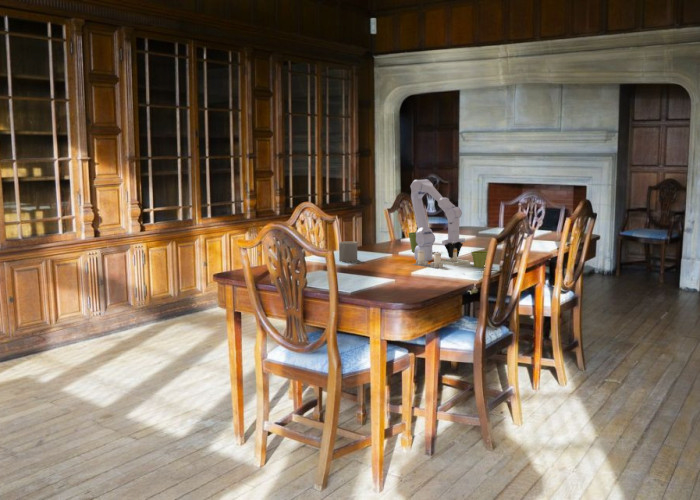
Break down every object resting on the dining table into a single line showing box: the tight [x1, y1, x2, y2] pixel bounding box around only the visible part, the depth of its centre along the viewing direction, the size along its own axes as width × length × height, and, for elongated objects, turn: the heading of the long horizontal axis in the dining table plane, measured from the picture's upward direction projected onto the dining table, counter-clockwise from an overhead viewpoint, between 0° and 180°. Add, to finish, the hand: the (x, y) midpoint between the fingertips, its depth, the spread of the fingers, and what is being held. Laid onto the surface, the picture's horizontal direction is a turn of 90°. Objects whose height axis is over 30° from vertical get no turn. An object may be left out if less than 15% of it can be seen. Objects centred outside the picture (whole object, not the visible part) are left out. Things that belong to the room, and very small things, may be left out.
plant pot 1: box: [407, 231, 425, 253], centre depth 424 cm, size 12×12×11 cm
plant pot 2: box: [470, 250, 488, 268], centre depth 359 cm, size 9×9×9 cm
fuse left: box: [417, 250, 425, 266], centre depth 367 cm, size 3×3×7 cm
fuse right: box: [433, 252, 442, 269], centre depth 358 cm, size 3×3×7 cm
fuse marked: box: [449, 248, 458, 263], centre depth 371 cm, size 4×4×7 cm
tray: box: [441, 258, 471, 266], centre depth 372 cm, size 12×12×3 cm
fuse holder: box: [411, 259, 448, 270], centre depth 363 cm, size 19×7×4 cm, turn 36°
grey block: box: [338, 240, 358, 263], centre depth 395 cm, size 13×10×10 cm
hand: (453, 257), depth 371 cm, fingers closed on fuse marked, 3 cm apart
